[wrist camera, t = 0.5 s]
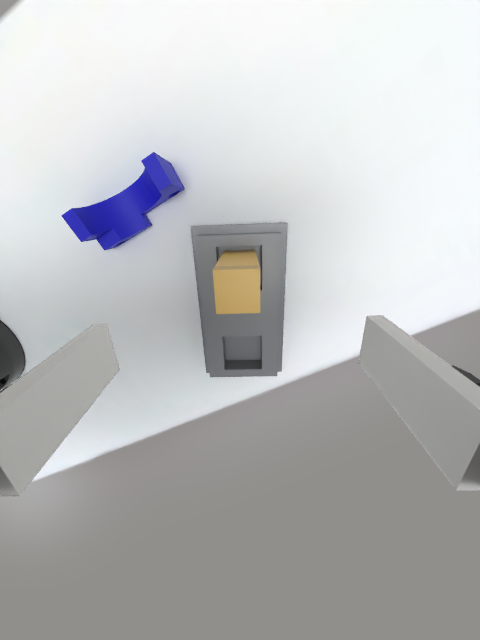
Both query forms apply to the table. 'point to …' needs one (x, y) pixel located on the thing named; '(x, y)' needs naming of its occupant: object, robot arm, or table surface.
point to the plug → (237, 282)
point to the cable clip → (126, 206)
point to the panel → (245, 328)
